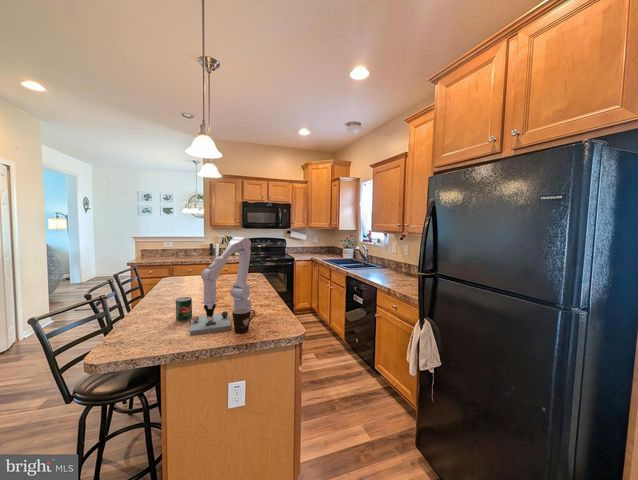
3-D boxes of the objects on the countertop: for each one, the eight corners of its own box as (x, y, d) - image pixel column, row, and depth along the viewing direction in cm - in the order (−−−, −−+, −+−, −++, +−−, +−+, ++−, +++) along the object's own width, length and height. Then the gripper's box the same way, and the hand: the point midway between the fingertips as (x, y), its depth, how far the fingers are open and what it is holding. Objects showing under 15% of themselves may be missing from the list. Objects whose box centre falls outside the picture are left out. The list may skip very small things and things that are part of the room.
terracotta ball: (199, 320, 137) (199, 314, 137) (199, 322, 134) (198, 316, 134) (192, 321, 136) (192, 314, 136) (192, 323, 133) (191, 316, 133)
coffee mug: (234, 336, 123) (233, 314, 122) (230, 329, 131) (230, 309, 130) (259, 331, 128) (258, 311, 128) (254, 325, 136) (254, 306, 135)
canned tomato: (185, 322, 140) (185, 301, 140) (172, 320, 142) (171, 300, 141) (195, 317, 148) (195, 297, 147) (182, 315, 150) (182, 296, 149)
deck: (227, 316, 149) (227, 312, 149) (231, 329, 131) (231, 325, 131) (192, 320, 142) (191, 317, 142) (190, 335, 124) (190, 331, 124)
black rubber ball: (227, 316, 144) (227, 310, 144) (228, 318, 141) (228, 312, 141) (221, 316, 143) (221, 310, 142) (221, 318, 140) (221, 312, 139)
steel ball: (214, 321, 133) (213, 322, 136) (214, 315, 135) (213, 316, 137) (207, 322, 132) (206, 323, 134) (207, 315, 133) (206, 316, 136)
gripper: (201, 289, 140) (201, 315, 141) (200, 296, 127) (201, 324, 127) (215, 288, 143) (215, 313, 144) (216, 295, 130) (216, 323, 130)
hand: (209, 318), depth 136 cm, fingers closed, pressing on steel ball
